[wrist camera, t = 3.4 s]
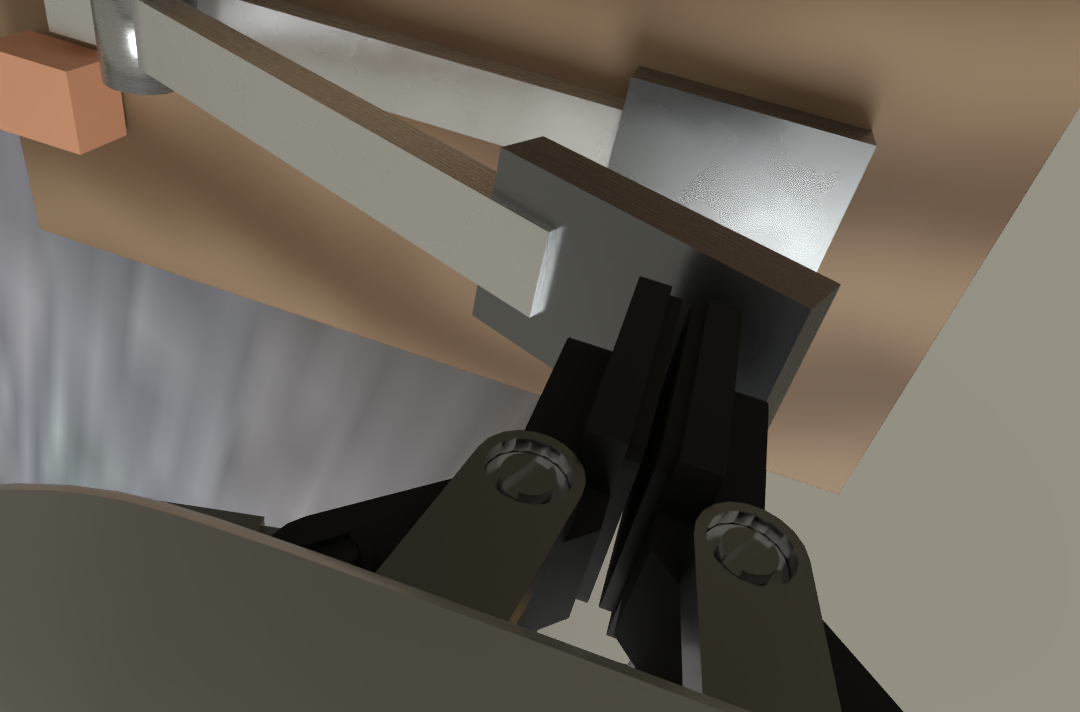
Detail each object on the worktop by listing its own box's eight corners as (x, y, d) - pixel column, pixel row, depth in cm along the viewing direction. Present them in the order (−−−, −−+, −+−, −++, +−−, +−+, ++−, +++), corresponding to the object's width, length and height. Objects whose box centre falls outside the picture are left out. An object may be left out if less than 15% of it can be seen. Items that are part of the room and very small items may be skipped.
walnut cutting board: (-54, -494, 18) (-126, -523, 17) (1233, -209, 15) (1279, -215, 14) (76, 210, 30) (40, 228, 28) (836, 459, 26) (838, 494, 25)
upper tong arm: (159, 72, 22) (88, 80, 21) (145, -65, 20) (65, -66, 19) (758, 449, 14) (706, 504, 12) (843, 282, 12) (791, 326, 10)
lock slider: (45, 109, 25) (-6, 127, 23) (29, 30, 23) (-26, 43, 22) (126, 134, 25) (80, 154, 23) (116, 56, 23) (65, 71, 22)
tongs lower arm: (76, 35, 23) (46, 42, 22) (55, -98, 21) (20, -96, 20) (813, 256, 21) (814, 275, 20) (872, 130, 19) (876, 145, 18)
